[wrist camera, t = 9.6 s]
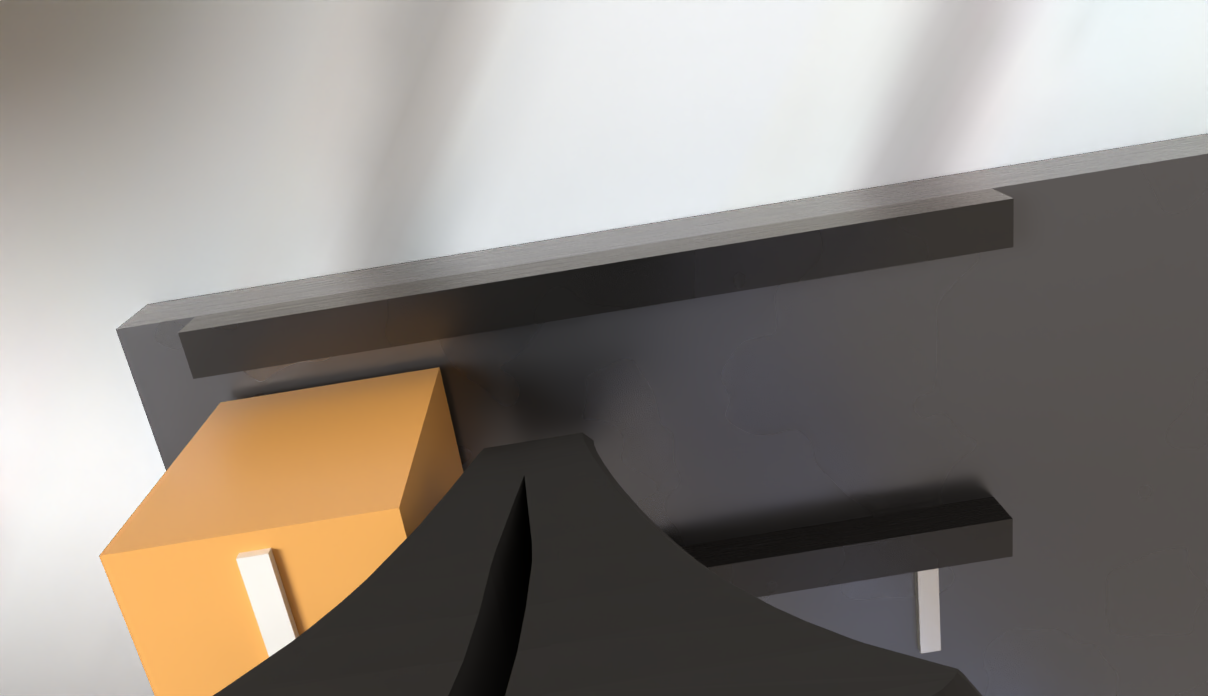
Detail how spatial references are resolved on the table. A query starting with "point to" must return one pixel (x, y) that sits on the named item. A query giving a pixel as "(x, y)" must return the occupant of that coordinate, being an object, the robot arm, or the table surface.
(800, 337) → the console
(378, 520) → the fader
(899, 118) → the table surface
